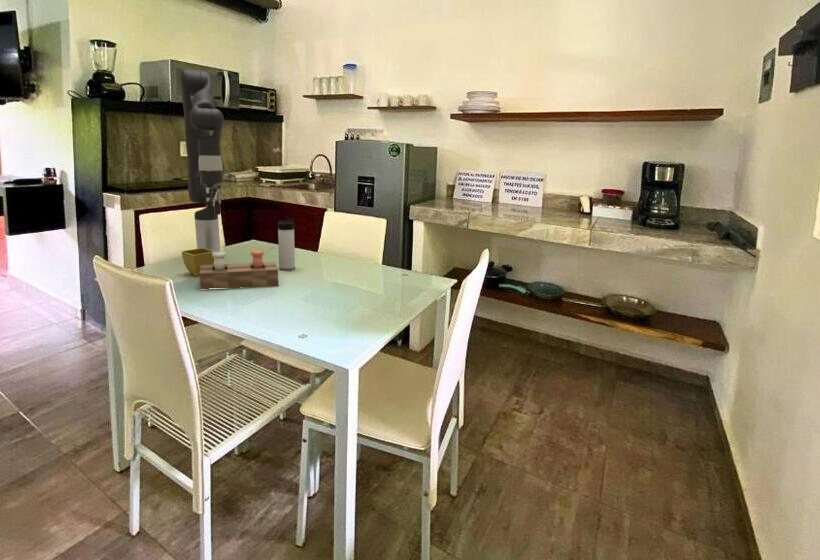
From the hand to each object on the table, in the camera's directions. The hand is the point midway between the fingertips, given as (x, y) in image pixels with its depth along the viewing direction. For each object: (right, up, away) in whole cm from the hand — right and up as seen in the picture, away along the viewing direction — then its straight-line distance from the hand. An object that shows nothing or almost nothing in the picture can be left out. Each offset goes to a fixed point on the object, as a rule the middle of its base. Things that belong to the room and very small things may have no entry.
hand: (214, 215), depth 171 cm
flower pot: (-11, -21, +14) cm, 28 cm away
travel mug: (+19, -18, +27) cm, 38 cm away
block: (+7, -24, +5) cm, 26 cm away
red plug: (+14, -19, +6) cm, 24 cm away
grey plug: (+1, -20, +1) cm, 20 cm away
